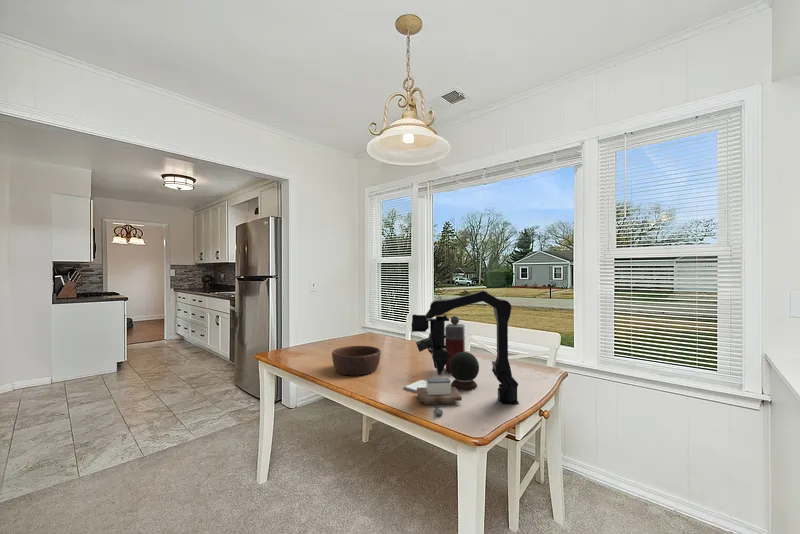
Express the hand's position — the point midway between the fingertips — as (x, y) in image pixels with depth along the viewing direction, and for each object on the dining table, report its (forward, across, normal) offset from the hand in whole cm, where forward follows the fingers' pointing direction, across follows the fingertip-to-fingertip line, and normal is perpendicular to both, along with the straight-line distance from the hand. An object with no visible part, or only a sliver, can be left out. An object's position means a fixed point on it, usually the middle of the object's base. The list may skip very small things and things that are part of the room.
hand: (437, 371), depth 137 cm
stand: (+11, 0, 0) cm, 11 cm away
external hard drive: (+12, -15, -6) cm, 20 cm away
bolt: (+11, +12, -2) cm, 17 cm away
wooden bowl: (+12, -43, -36) cm, 57 cm away
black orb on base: (+12, -16, +14) cm, 24 cm away
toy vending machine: (+12, -40, +15) cm, 44 cm away
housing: (+8, 0, 0) cm, 8 cm away
